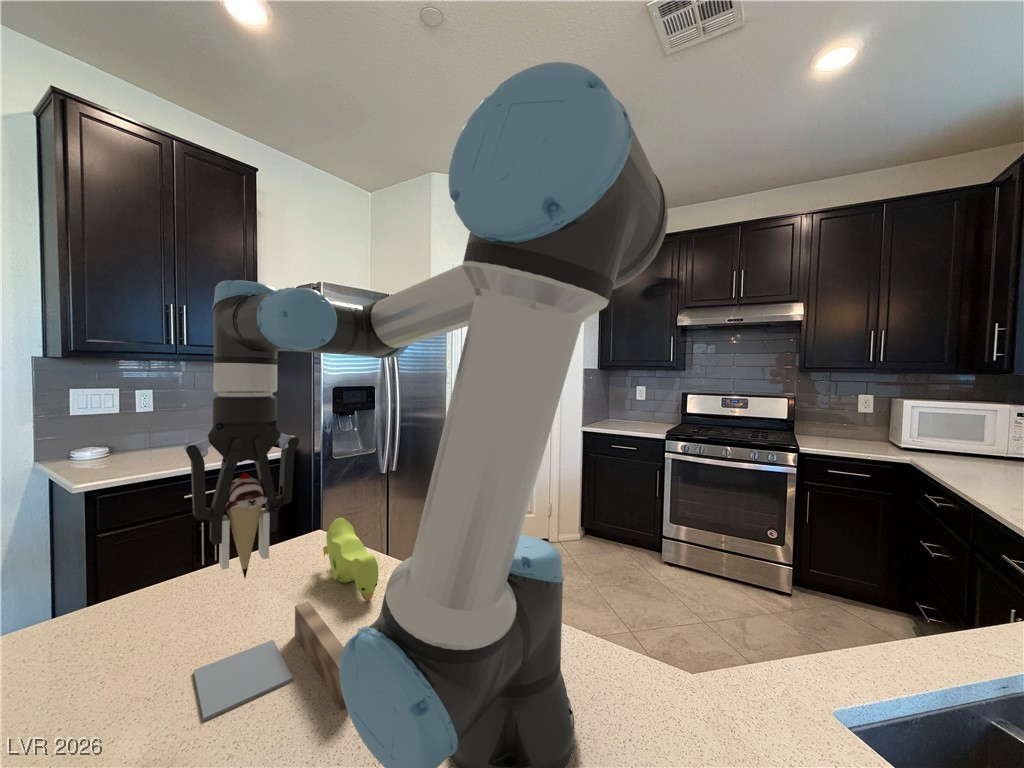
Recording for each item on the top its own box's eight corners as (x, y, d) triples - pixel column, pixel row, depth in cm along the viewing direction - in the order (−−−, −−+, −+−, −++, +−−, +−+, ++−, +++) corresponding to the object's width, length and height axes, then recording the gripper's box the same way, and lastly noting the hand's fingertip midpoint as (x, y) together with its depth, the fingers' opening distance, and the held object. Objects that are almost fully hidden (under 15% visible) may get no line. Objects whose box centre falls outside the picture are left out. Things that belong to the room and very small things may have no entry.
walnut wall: (356, 701, 53) (356, 663, 53) (340, 709, 51) (341, 671, 51) (307, 630, 67) (308, 600, 67) (294, 635, 66) (295, 605, 66)
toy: (322, 603, 86) (357, 608, 72) (314, 523, 90) (347, 514, 76) (351, 593, 90) (390, 595, 77) (343, 517, 94) (378, 507, 81)
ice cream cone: (244, 591, 53) (243, 478, 53) (208, 586, 54) (208, 476, 54) (277, 571, 59) (277, 469, 58) (244, 567, 60) (244, 467, 60)
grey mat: (293, 680, 56) (293, 677, 56) (203, 721, 49) (203, 718, 49) (273, 642, 64) (273, 639, 64) (193, 672, 57) (193, 670, 57)
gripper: (303, 393, 65) (302, 537, 65) (164, 394, 53) (162, 570, 53) (319, 394, 59) (317, 551, 60) (167, 396, 48) (166, 592, 48)
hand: (244, 560), depth 56 cm, fingers closed on ice cream cone, 4 cm apart
